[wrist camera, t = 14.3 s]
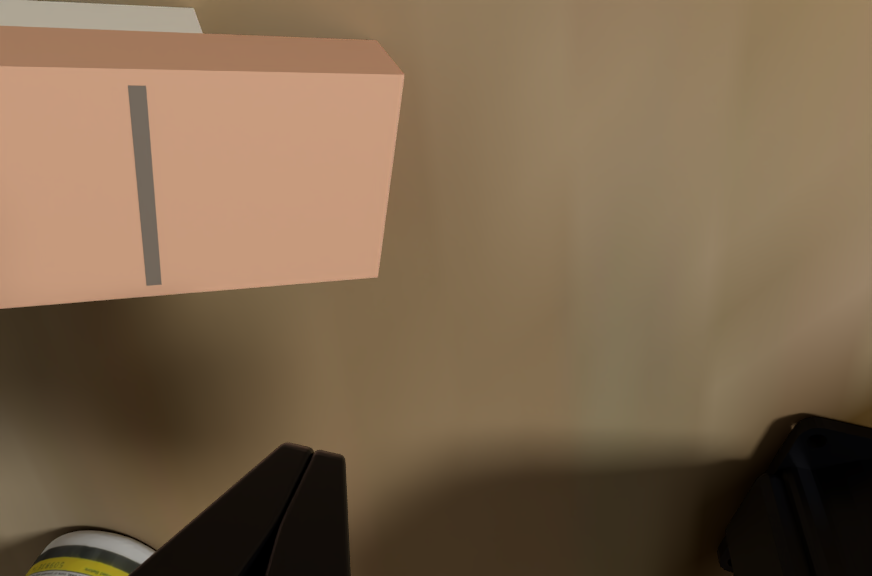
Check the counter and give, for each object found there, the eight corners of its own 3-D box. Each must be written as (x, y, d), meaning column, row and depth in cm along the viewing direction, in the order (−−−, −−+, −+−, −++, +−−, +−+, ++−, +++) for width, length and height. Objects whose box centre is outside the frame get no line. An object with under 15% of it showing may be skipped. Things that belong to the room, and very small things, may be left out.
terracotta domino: (404, 74, 15) (-223, 62, 11) (378, 277, 18) (-126, 320, 14) (376, 39, 16) (-185, 17, 13) (355, 232, 19) (-105, 259, 15)
